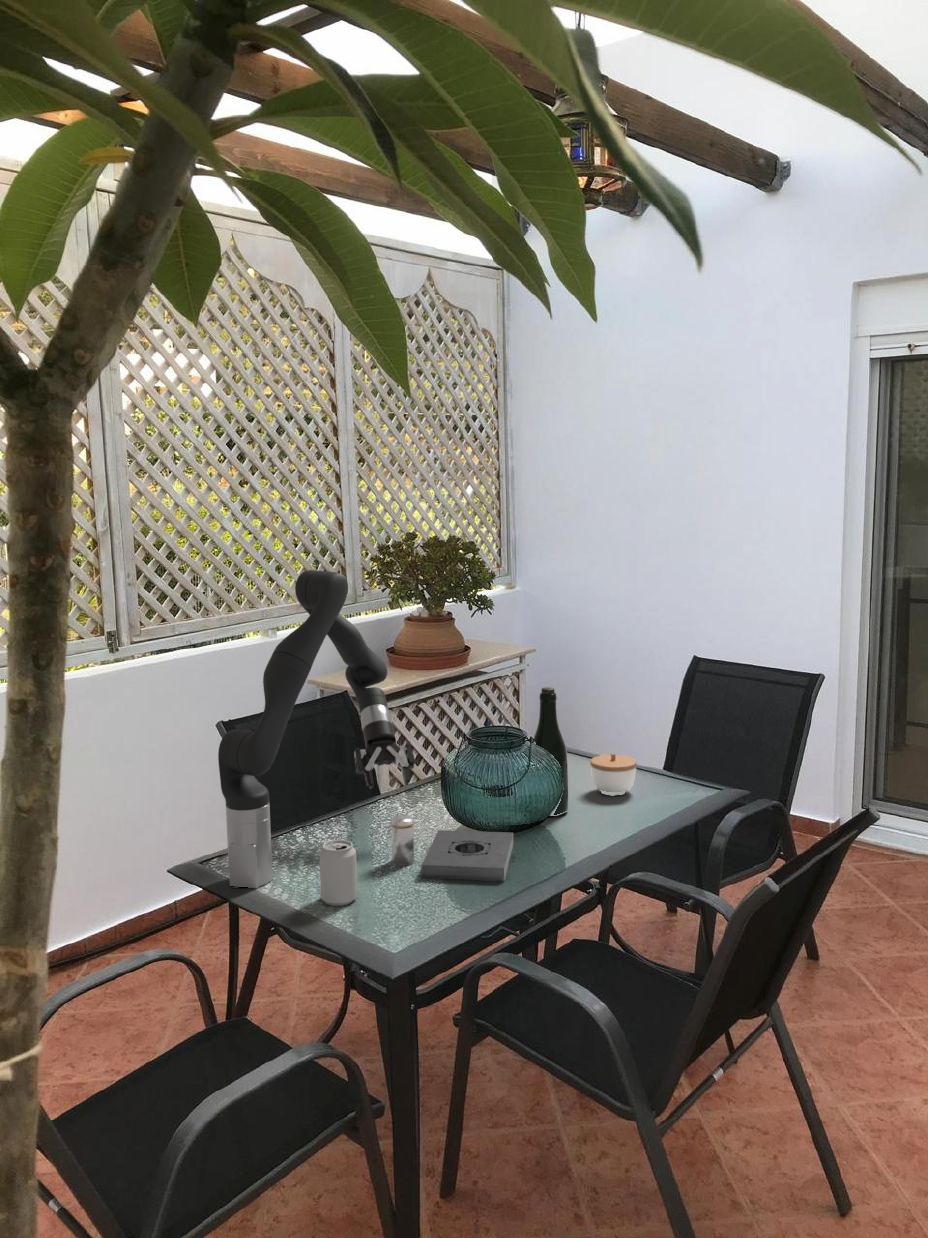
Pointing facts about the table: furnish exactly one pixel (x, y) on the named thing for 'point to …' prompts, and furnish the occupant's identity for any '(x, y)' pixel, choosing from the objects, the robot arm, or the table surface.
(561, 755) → the dark wine bottle
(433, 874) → the plate
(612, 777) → the lidded bowl
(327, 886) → the can
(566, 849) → the table surface
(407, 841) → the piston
